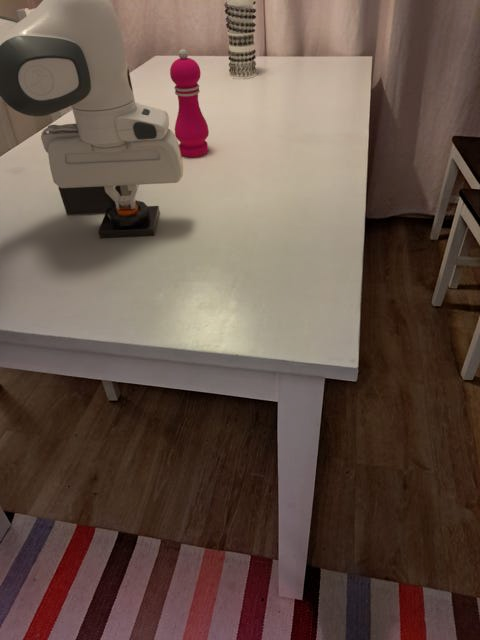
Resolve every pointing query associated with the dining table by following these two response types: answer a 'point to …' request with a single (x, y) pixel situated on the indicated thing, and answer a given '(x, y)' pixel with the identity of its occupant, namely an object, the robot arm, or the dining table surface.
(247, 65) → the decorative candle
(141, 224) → the control block
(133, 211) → the button
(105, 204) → the box
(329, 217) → the dining table surface
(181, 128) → the pepper mill
